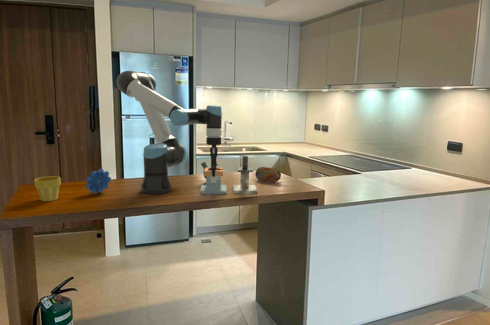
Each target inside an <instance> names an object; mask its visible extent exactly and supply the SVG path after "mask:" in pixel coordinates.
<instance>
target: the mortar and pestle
mask: <svg viewBox="0 0 490 325" xmlns="http://www.w3.org/2000/svg"><path fill="white" fill-rule="evenodd" d="M200 165H201V166H202V168H203V171H202V172H203V177H204V179H205V180H206V177H207V176H204V170H205V168H209V167H208V165H207V162H206V161H203V162H201V163H200Z"/></svg>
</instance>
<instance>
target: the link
mask: <svg viewBox="0 0 490 325" xmlns="http://www.w3.org/2000/svg"><path fill="white" fill-rule="evenodd" d="M210 168H211V167H208V168H205V170H204V169H203V171H204V174H203V177H204V176H211V170H210ZM216 176H221V177H223V176H224V168H223V167H217V168H216Z"/></svg>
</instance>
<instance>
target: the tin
mask: <svg viewBox="0 0 490 325" xmlns="http://www.w3.org/2000/svg"><path fill="white" fill-rule="evenodd" d="M255 177H256V179H257V180H258V181H259V182H265V183H278V182H279V181H280V180H281V177H282V174H281V171H280V169H278V168H277V167H267V166H260V167H258V168H257V169H256V170H255Z"/></svg>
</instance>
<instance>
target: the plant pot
mask: <svg viewBox="0 0 490 325" xmlns="http://www.w3.org/2000/svg"><path fill="white" fill-rule="evenodd" d="M61 184H62V179H61V177H60V176H55V175H53V176H51V175H50V176H41V177H37V178H35V179H34V187H35V188H36V189H37V192H38V196H39V198H40V200H41V201H42V202H54V201H56V200H58V198H59V192H60V191H59V190H60V186H61Z"/></svg>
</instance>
